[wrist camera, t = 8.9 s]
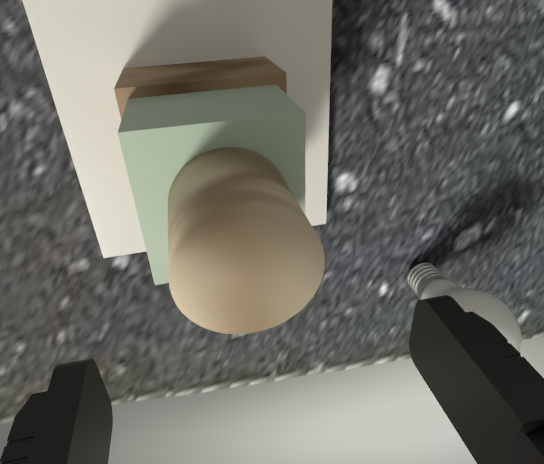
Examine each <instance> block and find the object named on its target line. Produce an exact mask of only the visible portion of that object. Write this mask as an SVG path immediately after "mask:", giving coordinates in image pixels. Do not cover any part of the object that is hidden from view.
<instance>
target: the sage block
mask: <svg viewBox="0 0 544 464" xmlns="http://www.w3.org/2000/svg"><path fill="white" fill-rule="evenodd" d="M118 136H119V140H120V144H121V149H122V153H123V157H124V161H125V165H126V169H127V173H128V177H129V181H130V185H131V189H132V193H133V198H134V202H135V206H136V210H137V214H138V218H139V222H140V226H141V230H142V234H143V238H144V242H145V246H146V251H147V255H148V259H149V263H150V267H151V271H152V275H153V279H154V283H155V285H158V284H164V283H169V261H168V195H169V190H170V187H171V185H172V182H173V181H174V179H175V177H176V175H177V174H178V173H179V171H180V170H181V169H182V168H183V167H184V166H185V165H186V164H187V163H188V162H189V161H191V160H192V159H193V158H195V157H197V156H198V155H200V154H202V153H204V152H207V151H210V150H213V149H217V148H223V147H238V148H244V149H248V150H251V151H254V152H257V153H259V154H260V155H262V156H264V157H265V158H267V159H268V160H269V161H271V162H272V163H273V164H274V165H275V167H276V168H277V169H278V170H279V172H280V173H281V175H282V177H283V179H284V180H285V182H286V184H287V185H288V187H289V189H290V190H291V192H292V194H293V195H294V197H295V199H296V200H297V202H298V204H299V205H300V207H301V209H302V210H303V212H304V214H305V112H304V111H303V110H302V109H301V108H300V107H299V106H298V105H297V104H296V103H295V102H294V101H293V100H292V99H291V98H290V97H289V96H288V95H287V94H286V93H285V92H284V91H282V90H281V89H280V88H279V87H278V86H277V85H266V86H256V87H246V88H235V89H225V90H214V91H204V92H194V93H183V94H173V95H162V96H152V97H142V98H131V99H127V103H126V106H125V109H124V113H123V116H122V119H121V123H120V126H119V130H118Z"/></svg>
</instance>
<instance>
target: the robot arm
mask: <svg viewBox="0 0 544 464" xmlns="http://www.w3.org/2000/svg"><path fill="white" fill-rule="evenodd" d="M409 349H410V354H411V357H412V360H413V362H414V364H415V366H416V367H417V369H418V371H419V372H420V374H421V376H422V377H423V379H424V380H425V382H426V383H427V385H428V386H429V388H430V390H431V391H432V393H433V394H434V396H435V398H436V399H437V401H438V402H439V404H440V405H441V407H442V408H443V410H444V412H445V413H446V415H447V416H448V418H449V419H450V421H451V423H452V424H453V426H454V428H455V429H456V431H457V432H458V434H459V435H460V437H461V438H462V440H463V442H464V443H465V445H466V446H467V448H468V450H469V451H470V453H471V454H472V456H473V457H474V459H475V461H476V462H477V464H544V378H543V377H542V376H541V375H540V374H539V373H538V372H537V371H536V370H535V369H534V368H533V367H532V366H531V365H530V363H529V362H528V361H527V360H526V359H525V358H524V357H521V356H520V353H519V352H518V351H517V350H516V348H515V347H514V346H513V345H512V344H511V343H510V344H509V343H508V340H507V339H506V338H505V337H504V336H503V334H502V333H501V332H500V331H499V330H498V329H497V328H496V327H495V326H494V325H493V324H492V323H490V322H489V321H487V320H486V319H484V318H482V317H481V316H479V315H477V314H476V313H474V312H473V311H471V312H465V311H464V310H463V309H462V308H461V306H460V305H459V304H458V303H457V302H456V301H455V300H454V299H453V298H452V297H451V296H449V295H443V296H438V297H433V298H427V299H422V300H419V301H418V302H417V303H416V307H415V312H414V318H413V323H412V328H411V334H410V339H409ZM112 419H113V417H112V406H111V402H110V398H109V396H108V393H107V391H106V388H105V385H104V383H103V380H102V378H101V375H100V372H99V370H98V367H97V365H96V362H95V361H94V360H93V359H87V360H82V361H76V362H71V363H65V364H60V365H57V366H56V367H55V369H54V371H53V374H52V377H51V381H50V384H49V388H48V391H46V392H41V393H36V394H32V396H31V397H30V398H29V399H28V401H27V402H26V403H25V405H24V406H23V407H22V409H21V410H20V411H19V413H18V414H17V415H16V417H15V419H14V422H13V425H12V427H11V431H10V433H9V436H8V439H7V446H6V447H5V448H4V451H3V453H2V457H1V459H0V464H108V458H109V448H110V442H111V433H112V423H113V422H112V421H113V420H112Z"/></svg>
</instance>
